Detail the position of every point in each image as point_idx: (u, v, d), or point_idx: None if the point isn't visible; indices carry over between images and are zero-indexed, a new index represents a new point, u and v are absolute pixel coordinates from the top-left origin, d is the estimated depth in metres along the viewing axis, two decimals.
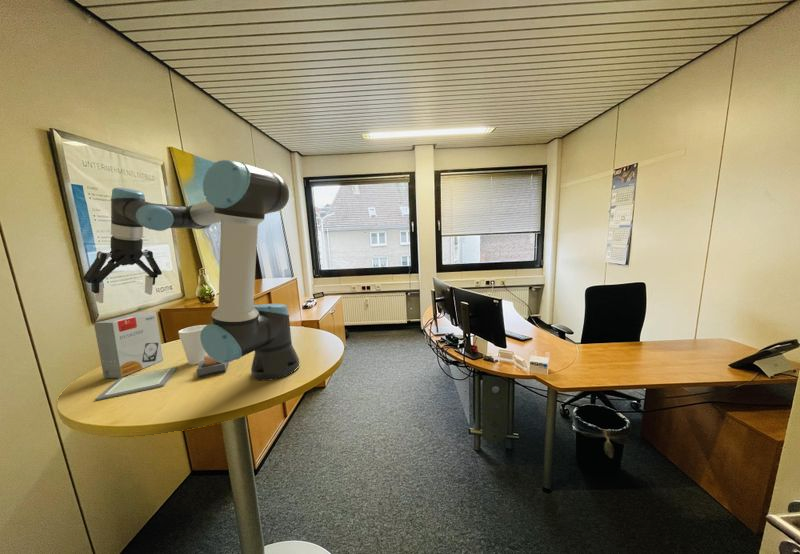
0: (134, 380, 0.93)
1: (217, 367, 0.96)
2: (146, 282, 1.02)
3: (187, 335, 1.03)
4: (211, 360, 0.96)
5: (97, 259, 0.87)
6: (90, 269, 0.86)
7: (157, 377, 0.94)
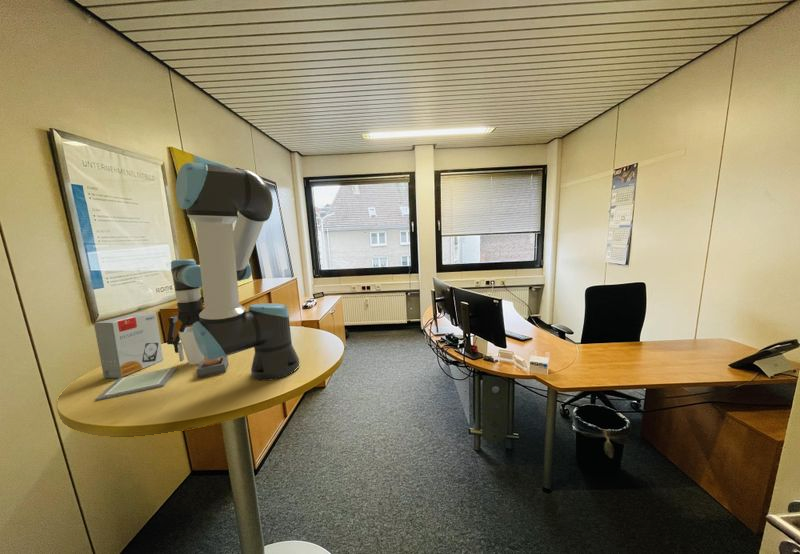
0: (134, 380, 0.93)
1: (217, 367, 0.96)
2: None
3: (187, 335, 1.03)
4: (211, 360, 0.96)
5: None
6: None
7: (157, 377, 0.94)
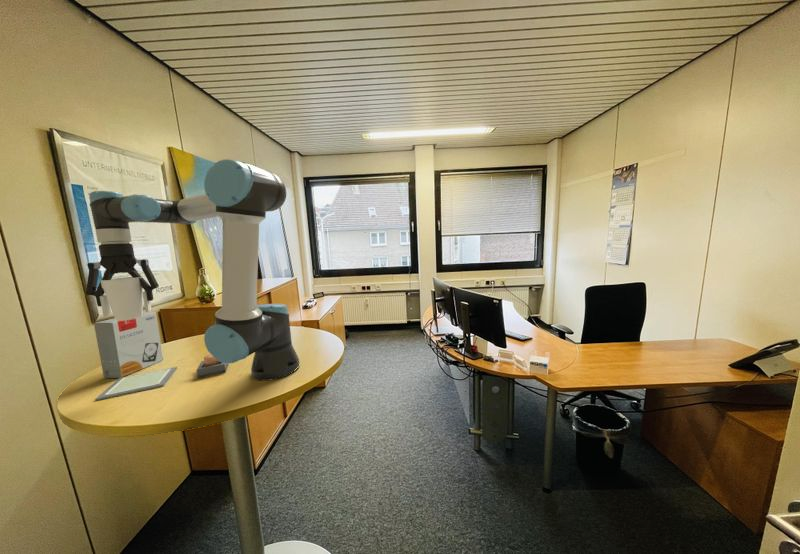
0: (134, 380, 0.93)
1: (217, 367, 0.96)
2: None
3: (110, 283, 0.84)
4: (211, 360, 0.96)
5: None
6: None
7: (157, 377, 0.94)
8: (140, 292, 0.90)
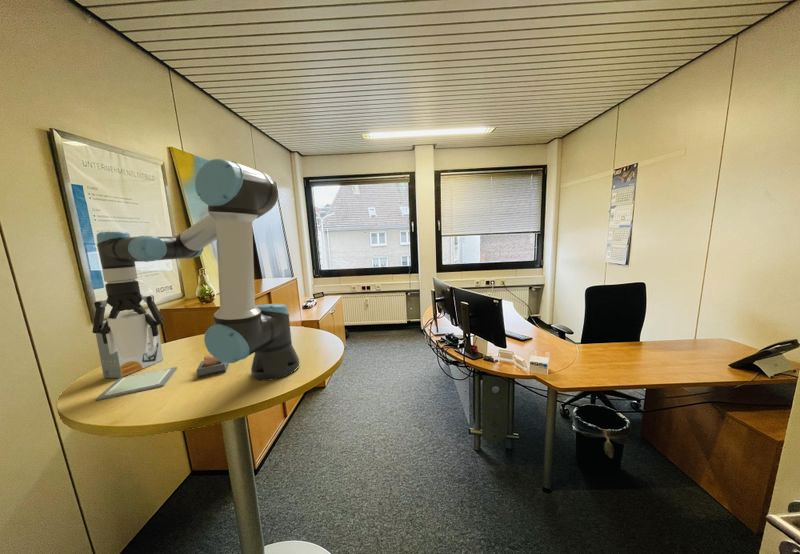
0: (134, 380, 0.93)
1: (217, 367, 0.96)
2: None
3: (117, 322, 0.86)
4: (211, 360, 0.96)
5: None
6: None
7: (157, 377, 0.94)
8: (146, 328, 0.92)
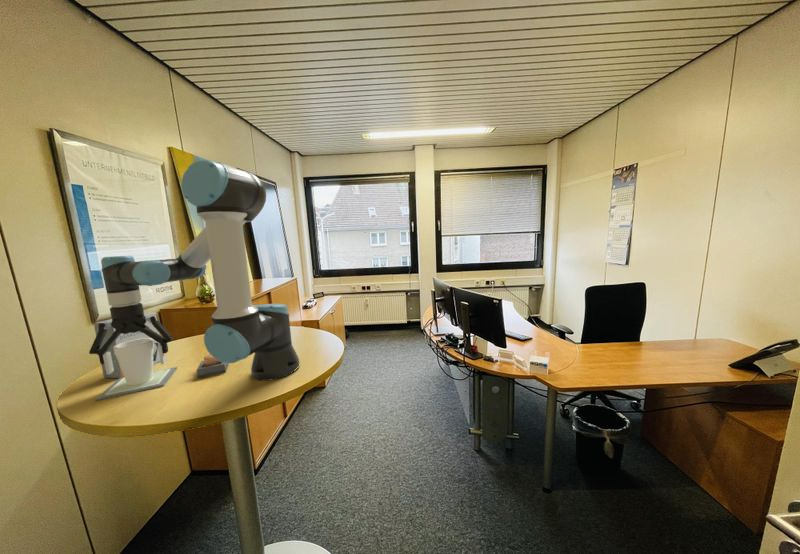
0: None
1: (217, 367, 0.96)
2: None
3: (123, 351, 0.87)
4: (211, 360, 0.96)
5: None
6: None
7: (157, 377, 0.94)
8: (151, 355, 0.93)
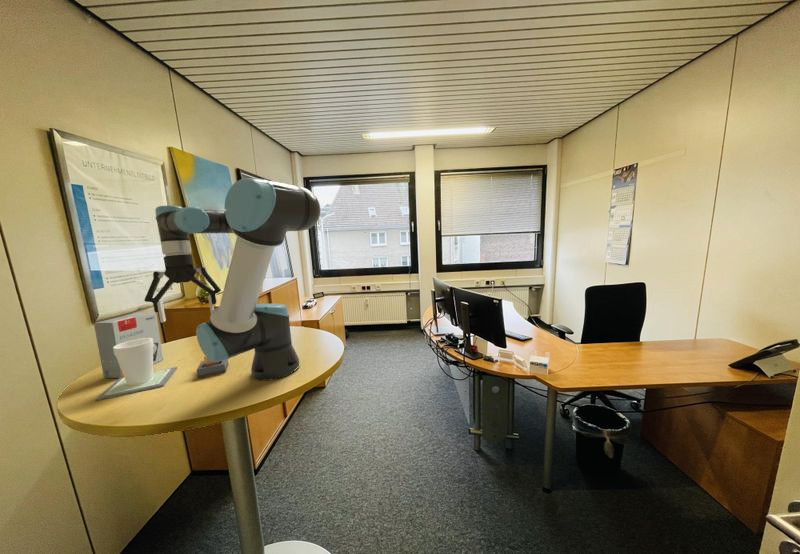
0: None
1: (217, 367, 0.96)
2: None
3: (123, 351, 0.87)
4: None
5: None
6: None
7: (157, 377, 0.94)
8: (151, 355, 0.93)
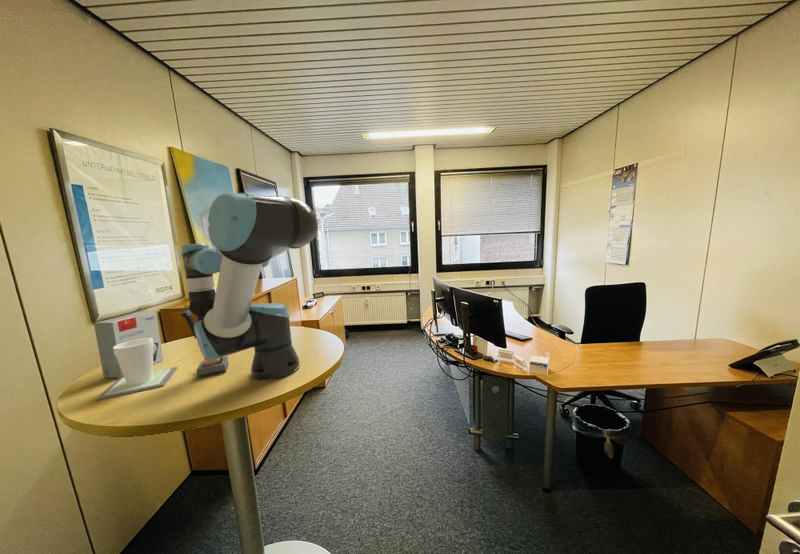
0: None
1: (217, 367, 0.96)
2: None
3: (123, 351, 0.87)
4: (211, 361, 0.96)
5: None
6: None
7: (157, 377, 0.94)
8: (151, 355, 0.93)
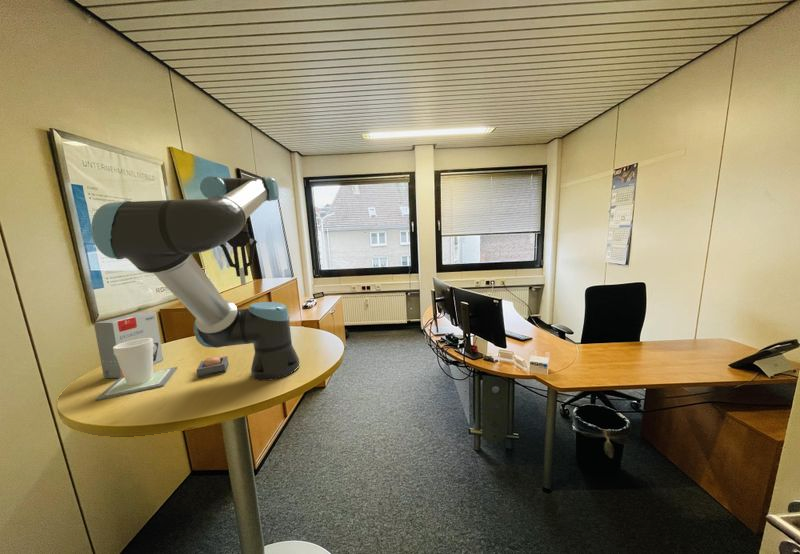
0: None
1: (217, 367, 0.96)
2: None
3: (123, 351, 0.87)
4: (211, 363, 0.96)
5: None
6: None
7: (157, 377, 0.94)
8: (151, 355, 0.93)
